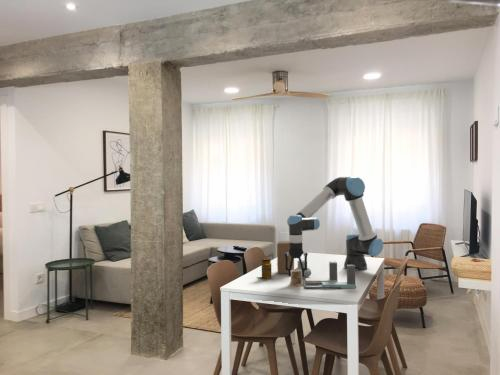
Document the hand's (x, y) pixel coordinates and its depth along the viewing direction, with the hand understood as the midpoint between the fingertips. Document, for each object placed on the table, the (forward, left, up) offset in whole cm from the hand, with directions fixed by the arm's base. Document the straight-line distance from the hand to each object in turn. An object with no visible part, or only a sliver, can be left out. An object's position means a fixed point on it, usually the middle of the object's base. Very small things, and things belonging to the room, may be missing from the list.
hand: (296, 282), depth 240 cm
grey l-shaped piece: (-23, +5, -1) cm, 24 cm away
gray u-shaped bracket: (-15, -4, -1) cm, 15 cm away
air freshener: (-5, -18, -2) cm, 19 cm away
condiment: (+18, -15, -2) cm, 24 cm away
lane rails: (-15, +1, -1) cm, 15 cm away
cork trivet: (0, 0, -1) cm, 1 cm away
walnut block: (0, 0, 0) cm, 0 cm away
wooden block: (+5, -31, -2) cm, 32 cm away
